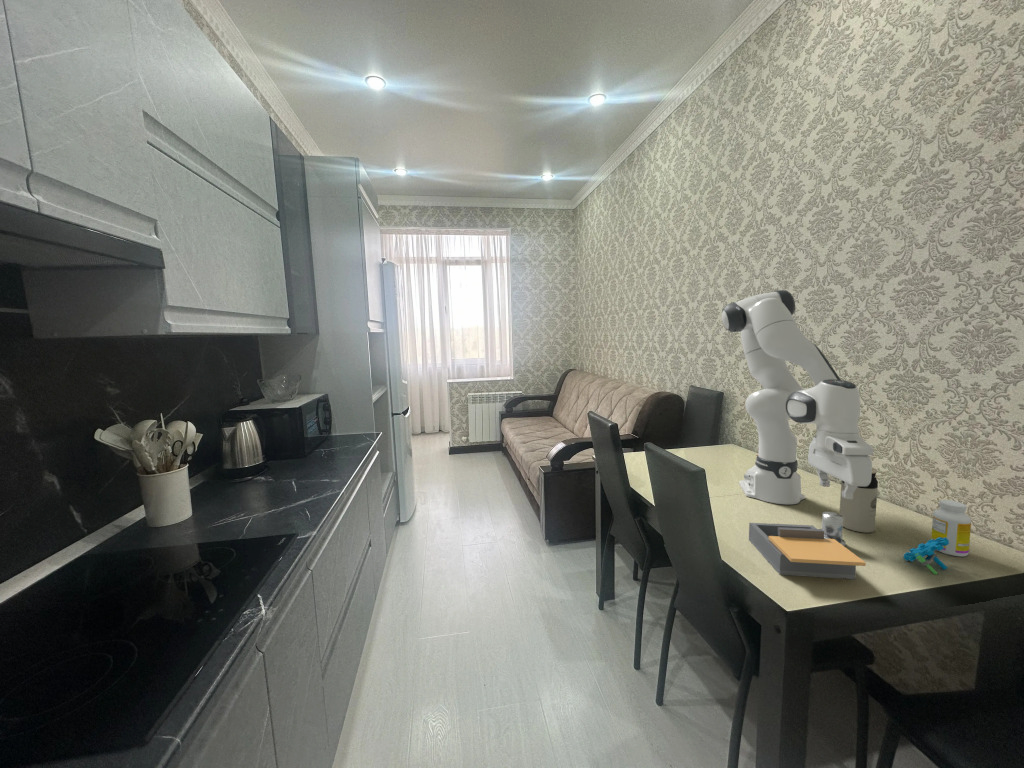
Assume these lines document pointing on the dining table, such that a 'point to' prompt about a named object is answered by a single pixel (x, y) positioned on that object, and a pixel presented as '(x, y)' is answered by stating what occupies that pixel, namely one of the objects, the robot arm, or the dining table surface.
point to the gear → (928, 553)
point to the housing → (783, 564)
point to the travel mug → (860, 507)
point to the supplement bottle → (952, 527)
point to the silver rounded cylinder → (833, 526)
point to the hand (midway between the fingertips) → (835, 491)
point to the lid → (812, 547)
